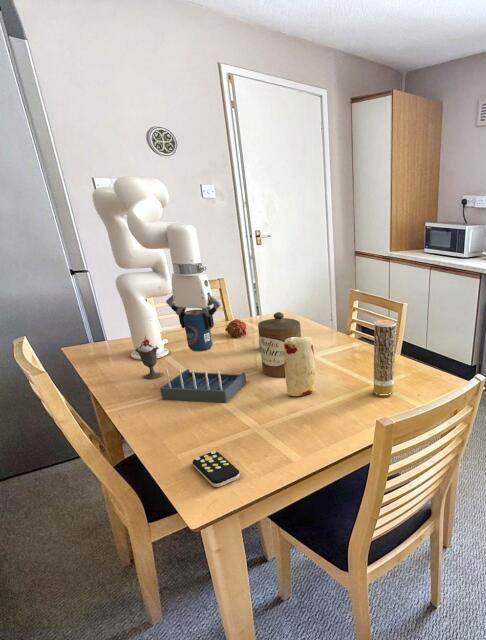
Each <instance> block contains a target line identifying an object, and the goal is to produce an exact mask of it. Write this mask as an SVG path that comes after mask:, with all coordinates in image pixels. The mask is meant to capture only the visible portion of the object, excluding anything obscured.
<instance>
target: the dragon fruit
mask: <svg viewBox="0 0 486 640" xmlns="http://www.w3.org/2000/svg"><path fill="white" fill-rule="evenodd" d="M225 332H227V334H228V335H229V336H231V337H235V338H241V337H242V336H246V335H247V324H246V322H245V321H243V320H242V321H241V319H238V318H235V319H234V320H231V321H229V323H228V324H227V325H226V327H225Z"/></svg>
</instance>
